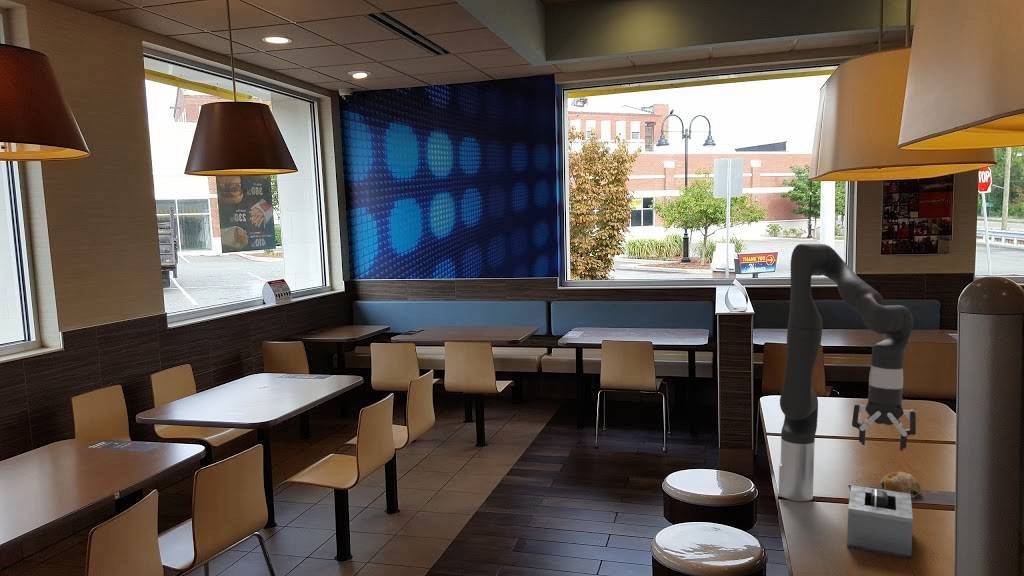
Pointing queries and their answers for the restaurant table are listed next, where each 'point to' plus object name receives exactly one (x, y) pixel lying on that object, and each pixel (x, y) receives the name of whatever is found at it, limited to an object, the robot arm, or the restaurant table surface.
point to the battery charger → (879, 499)
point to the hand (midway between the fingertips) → (882, 447)
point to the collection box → (880, 523)
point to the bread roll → (901, 483)
